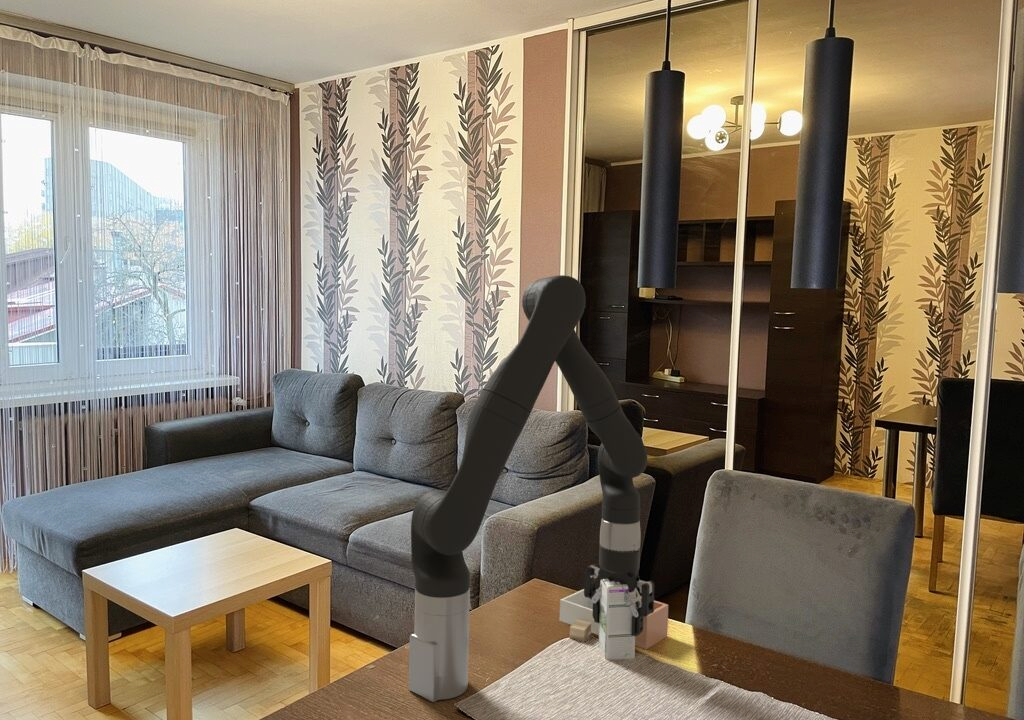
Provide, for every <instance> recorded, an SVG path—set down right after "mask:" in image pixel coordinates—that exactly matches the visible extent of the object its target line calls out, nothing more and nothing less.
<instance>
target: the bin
mask: <svg viewBox="0 0 1024 720" xmlns="http://www.w3.org/2000/svg"><path fill="white" fill-rule="evenodd" d="M597 590H598V589H596V591H597ZM558 619H559V622H562V623H563V624H564V623H565V624H568V625H570V626H571V625H572V624H573V623H574V622H575V621H576V620H581V621H585V622H590V623H591V634H595V635H598V636H599V623H596V622H594V618H593V602H592V600H591V599H590V598H589V597H588V598H586V597H585V596H584V588H583V589H580V590H578V591H576V592H575V593H572V594H570V595H568V596H566V597H565V596H564V597H563V598H561V599H559V618H558Z"/></svg>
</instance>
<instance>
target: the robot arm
mask: <svg viewBox="0 0 1024 720" xmlns="http://www.w3.org/2000/svg"><path fill="white" fill-rule="evenodd" d="M523 291H524V292H523V295H522V300H521V303H522V304H521V305H522V310H523V313H524V315H525V317H526V319H527V321H528V323H527V325H526V328H525V330H524V331H523V334H522V336H521V338H520V339H519V341H518V342H517V344H515V347H514V348H513V349H512V350H511V351H510V353H509V354H508V355H507V356H506V357H505V358H504V359H503V360H502V362H500V364H499V365H498V366H497V368H496V369H495V370H494V371H493V373H491V375H490V376H489V378H488V379H487V380H486V383H485V385H484V386H483V388H482V390H481V392H480V393H479V395H478V398H477V400H476V401H475V404H474V406H473V408H472V410H471V413H470V415H469V419H468V423H467V426H466V432H465V439H464V447H463V453H462V458H461V462H460V464H459V468H458V469H457V472H456V474H455V476H454V478H453V480H452V482H451V484H450V486H449V487H448V489H447V490H444V489H434V490H430V491H428V492H426V493H425V494H423V495H422V496H420V498H419V499H418V500H417V502H416V503H415V505H414V508H413V509H412V515H411V524H410V545H411V546H410V551H411V555H410V557H411V567H412V572H413V576H414V625H413V626H414V627H413V628H414V630H413V633H412V634H411V633H410V635H409V653H408V655H409V656H408V657H409V658H408V666H409V667H408V670H409V671H408V690H409V691H411V692H413V693H414V694H417V695H419V696H420V697H422V698H424V699H426V700H428V701H429V702H432V703H435V702H437V701H441V700H450V699H454V698H457V697H459V696H461V695H463V694H464V693H466V691H467V689H468V685H469V683H468V682H469V647H470V646H469V645H470V644H469V641H470V639H469V638H470V601H471V600H470V599H471V598H470V597H471V596H470V595H471V594H470V593H471V592H470V591H471V573H470V570H469V567H468V565H467V563H466V561H465V557H464V553H463V551H465V550H466V549H468V548H469V547H470V545H471V544H472V543H473V542H474V540H475V538H476V537H477V535H478V532H479V531H480V527H481V526H482V522H483V520H484V518H485V514H486V511H487V508H488V506H489V503H490V502H491V501H490V500H491V498H492V495H493V493H494V490H495V487H496V485H497V483H498V480H499V478H500V476H501V474H502V472H503V470H504V468H505V466H506V464H507V462H508V459H509V457H510V456H511V453H512V451H513V449H514V447H515V446H516V443H517V441H518V439H519V437H520V435H521V433H522V432H523V430H524V428H525V426H526V423H527V421H528V419H529V417H530V416H531V413H532V412H533V409H534V407H535V405H536V402H537V399H538V398H539V396H540V393H541V392H542V389H543V387H544V385H545V383H546V380H548V377H549V374H550V373H551V370H552V369H553V368H552V367H553V365H554V364H555V363H556V365H557V367H558V368H559V370H560V372H561V373H562V376H563V378H564V379H565V380H566V384H567V385H568V386H569V389H570V391H571V393H572V394H573V395H572V396H573V397H574V399H575V401H576V404H577V406H578V408H579V410H580V412H581V414H582V417H583V419H584V421H585V423H586V424H587V426H588V428H589V430H591V432H593V434H595V436H597V438H599V440H600V442H601V443H600V446H599V449H598V453H597V454H598V455H597V466H598V467H597V468H598V475H599V480H600V481H599V483H600V487H601V492H602V502H601V522H600V528H599V529H600V530H599V551H598V553H599V554H598V564H599V567H598V565H597V564H595V563H594V564H591V565H589V566H587V567H585V571H584V584H583V589H584V596H585V597H586V598H588V597H589V598H590V599H591V600H592V602H593V618H594V622H596V623H599V612H600V598H601V595H602V585H601V586H600V585H599V587H598V585H597V584H598V577H599V581H600V580H601V579H605V580H604V581H606V582H611V581H616V582H617V583H616V584H619V585H623V584H626V585H628V591H629V592H630V593H631V592H632V591H633V590H634V589H635V588H636V599H635V598H634V599H631V598H630V596H629V594H628V592H627V591H626V590H625V589H624V588H623V586H622V589H623V590H624V594H625V595H624V601H625V603H626V605H627V606H629V607H630V609H631V611H632V613H633V615H634V616H632V629H631V635H633V636H637V635H639V634H640V633H641V632H642V631H643V619H644V617H646V616H648V615H649V614H651V613H653V612H654V601H655V583H654V581H653V580H649V581H645V580H641V579H640V576H639V570H640V563H641V558H640V557H641V539H642V537H641V533H642V532H641V519H640V518H641V495H640V493H639V491H638V490H637V488H636V487H635V485H634V480H633V479H634V478H637V477H638V476H640V475H641V474H643V473H644V471H646V469H647V465H648V460H649V459H648V452H647V449H646V446H645V444H644V442H643V440H642V438H641V437H640V435H639V434H638V432H637V431H636V429H635V427H634V425H632V422H631V421H630V420H629V419H628V417H627V416H626V414H625V413H624V410H623V407H622V405H621V403H620V401H619V399H618V397H617V394H616V393H615V390H614V388H613V385H612V384H611V382H610V380H609V377H607V375H606V373H604V371H603V369H601V367H600V366H599V365H598V363H597V362H596V361H595V360H594V359H593V357H592V356H591V355H590V353H589V352H588V351H587V349H586V348H585V346H584V345H583V343H582V341H581V340H580V338H579V336H578V334H577V331H576V330H575V329H576V327H577V325H578V324H579V322H580V321H581V319H582V318H583V317H582V316H583V314H584V312H585V310H586V309H585V308H586V301H587V300H586V293H585V289H584V286H583V285H582V284H581V282H580V281H579V280H578V279H576V278H575V277H573V276H570V275H563V274H561V275H553V276H552V275H551V276H548V277H543V278H539V279H537V280H535V281H532V282H531V283H529V285H527V286H526V288H525V290H523ZM604 581H603V582H604ZM597 587H598V588H597ZM638 589H639V591H638ZM596 590H597V591H596ZM640 596H641V597H640ZM635 602H636V604H635Z"/></svg>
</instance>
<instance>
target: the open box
mask: <svg viewBox="0 0 1024 720" xmlns="http://www.w3.org/2000/svg"><path fill="white" fill-rule="evenodd" d="M640 597H641V595H640ZM668 619H669V604H667V603H665V602H661V601H657V600H654V612H653V613H651V614H649V615H648V616H646V617H644V619H643V631H642V632H641V633H640V634H639V635H637V636H635V647H638V648H640V649H643V650H648V649H649V648H651V647H653V646H654V645H656V644H658V643H659V642H661V641H663V640H665V638H667V637H668V629H669V627H668V626H669V625H668V624H669V620H668Z"/></svg>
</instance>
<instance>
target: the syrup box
mask: <svg viewBox="0 0 1024 720" xmlns="http://www.w3.org/2000/svg"><path fill="white" fill-rule="evenodd" d="M604 580H605V579H601V580H600V579H599V581H600V582H599V587H600V586H601V585H602V595H601V598H600V612H599V635H598V648H599V650H600V652H601V653H602V655H603V657H604V659H605V660H606V661H609V660H633V659H635V656H636V655H635V653H636V646H635V636H633V635H631V629H632V616H634V615H633V613H632V611H631V609H630V607H629V606H627V605H626V603H625V601H624V595H625V594H624V590H623V589H622V586H623V588H624V589H625V590H626V591H627V592H628V594H629V596H630V598H631V599H634V598H635V599H636V588H635V589H634V590H633V591H632V592H631V593H630V592H629V591H628V585H626V584H623V585H619V584H616V583H617V582H616V581H611V582H606V581H604ZM603 581H604V582H603ZM635 604H636V602H635Z"/></svg>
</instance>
